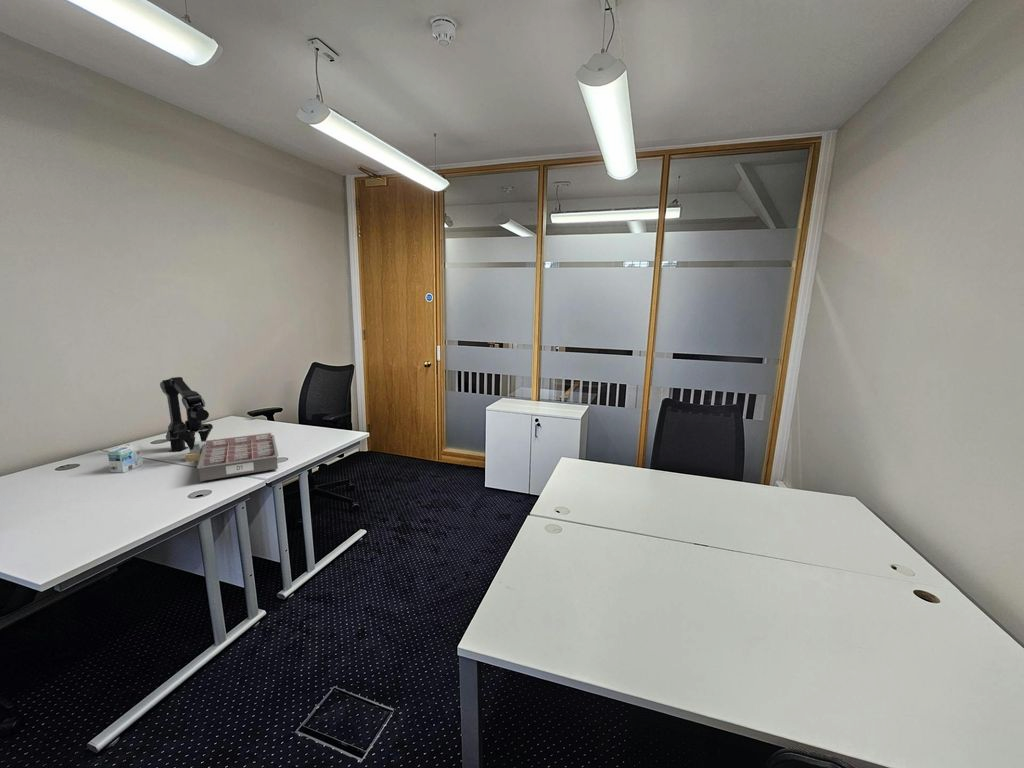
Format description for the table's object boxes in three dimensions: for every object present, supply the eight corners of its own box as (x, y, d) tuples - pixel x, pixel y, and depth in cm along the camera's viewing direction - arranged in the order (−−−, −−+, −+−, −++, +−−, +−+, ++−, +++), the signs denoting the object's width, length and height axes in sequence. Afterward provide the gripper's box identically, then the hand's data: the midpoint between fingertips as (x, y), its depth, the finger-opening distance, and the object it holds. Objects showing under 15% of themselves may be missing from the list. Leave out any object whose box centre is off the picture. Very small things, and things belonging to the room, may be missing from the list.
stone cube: (196, 450, 219) (194, 441, 218) (206, 450, 219) (205, 441, 218) (189, 453, 214) (188, 444, 213) (200, 453, 214) (199, 444, 213)
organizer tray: (198, 485, 185) (195, 464, 184) (205, 458, 218) (203, 440, 217) (279, 471, 202) (278, 452, 201) (275, 448, 236) (273, 431, 234)
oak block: (194, 457, 220) (193, 449, 220) (211, 456, 222) (210, 449, 221) (185, 462, 212) (185, 455, 212) (203, 461, 214) (202, 454, 213)
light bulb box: (123, 473, 197) (120, 451, 195) (109, 472, 197) (106, 451, 195) (143, 464, 207) (140, 444, 206) (130, 464, 208) (127, 444, 206)
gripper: (189, 413, 222) (193, 441, 224) (164, 422, 203) (168, 452, 206) (211, 413, 223) (214, 441, 225) (188, 422, 204) (191, 452, 207)
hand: (197, 446), depth 216 cm, fingers open, 9 cm apart
